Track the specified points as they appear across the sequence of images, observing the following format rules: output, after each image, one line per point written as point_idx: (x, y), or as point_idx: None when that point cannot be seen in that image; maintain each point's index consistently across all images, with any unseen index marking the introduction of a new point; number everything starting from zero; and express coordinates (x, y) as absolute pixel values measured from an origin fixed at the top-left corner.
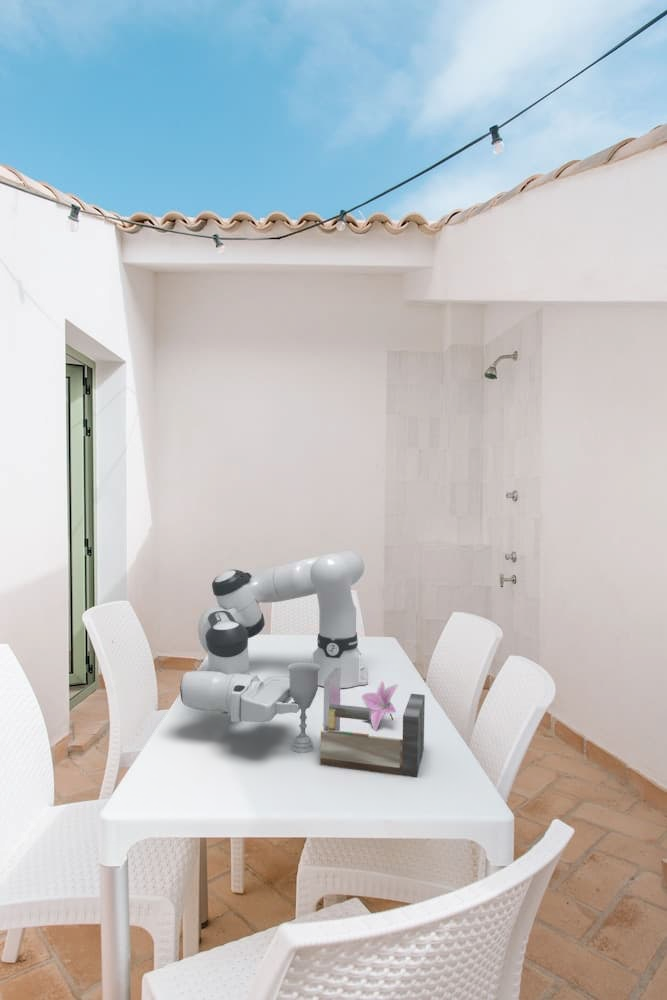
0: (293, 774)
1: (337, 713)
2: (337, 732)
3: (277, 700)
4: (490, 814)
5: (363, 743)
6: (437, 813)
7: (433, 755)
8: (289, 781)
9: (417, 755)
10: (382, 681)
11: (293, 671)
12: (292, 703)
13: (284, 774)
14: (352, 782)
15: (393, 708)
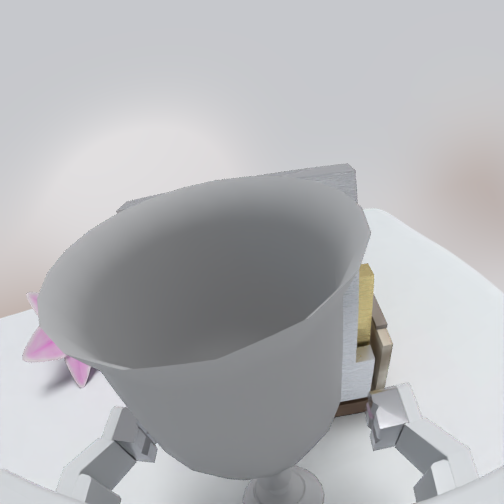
0: (460, 433)
1: None
2: (377, 302)
3: (445, 492)
4: (376, 212)
5: None
6: (411, 234)
7: None
8: (492, 417)
9: None
10: (27, 293)
11: (356, 260)
12: (406, 411)
13: (473, 449)
14: (412, 324)
15: None
